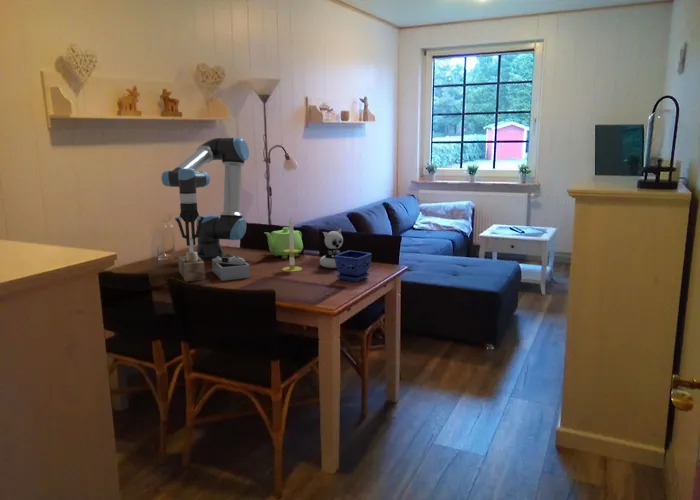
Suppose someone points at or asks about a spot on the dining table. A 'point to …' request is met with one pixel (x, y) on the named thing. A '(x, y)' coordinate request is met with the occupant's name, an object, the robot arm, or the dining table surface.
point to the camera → (230, 261)
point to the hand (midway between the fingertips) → (191, 252)
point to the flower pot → (353, 265)
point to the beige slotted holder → (191, 269)
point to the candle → (291, 250)
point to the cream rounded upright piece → (191, 257)
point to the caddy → (231, 271)
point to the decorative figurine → (332, 248)
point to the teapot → (283, 242)
